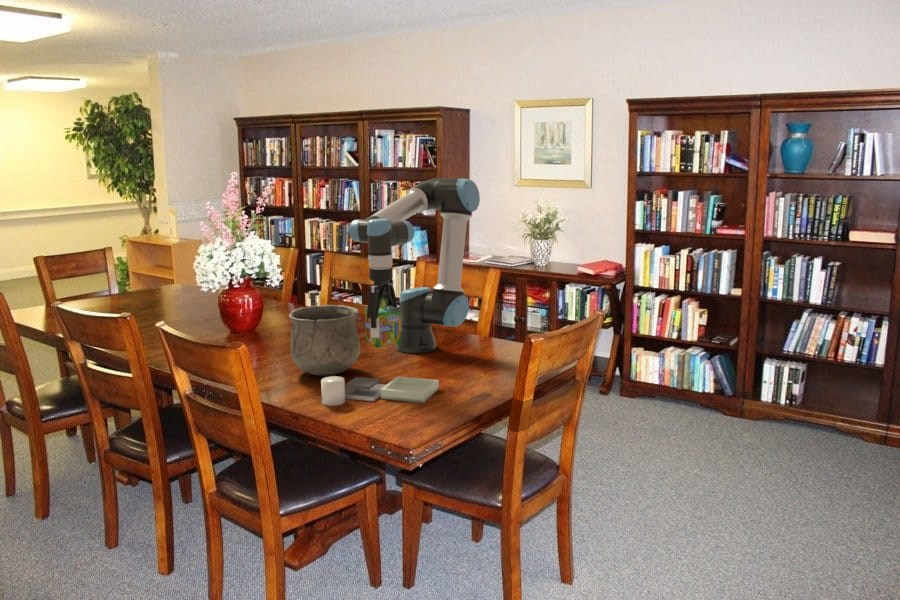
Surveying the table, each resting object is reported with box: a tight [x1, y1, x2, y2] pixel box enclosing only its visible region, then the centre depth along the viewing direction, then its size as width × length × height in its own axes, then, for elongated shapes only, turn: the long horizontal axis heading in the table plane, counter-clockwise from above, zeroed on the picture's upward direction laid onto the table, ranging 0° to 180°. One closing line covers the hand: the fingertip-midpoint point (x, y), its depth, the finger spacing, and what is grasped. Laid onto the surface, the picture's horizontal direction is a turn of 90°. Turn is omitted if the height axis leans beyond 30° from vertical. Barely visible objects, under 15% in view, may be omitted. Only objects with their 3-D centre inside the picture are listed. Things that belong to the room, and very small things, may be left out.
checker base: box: [345, 383, 387, 402], centre depth 242 cm, size 13×13×2 cm
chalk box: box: [364, 298, 401, 349], centre depth 251 cm, size 9×9×15 cm
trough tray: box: [380, 375, 440, 404], centre depth 241 cm, size 14×14×3 cm
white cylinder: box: [320, 375, 346, 407], centre depth 233 cm, size 7×7×7 cm
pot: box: [288, 304, 361, 377], centre depth 261 cm, size 25×24×21 cm
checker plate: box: [345, 376, 381, 390], centre depth 241 cm, size 8×8×1 cm
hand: (383, 332), depth 252 cm, fingers closed on chalk box, 12 cm apart
